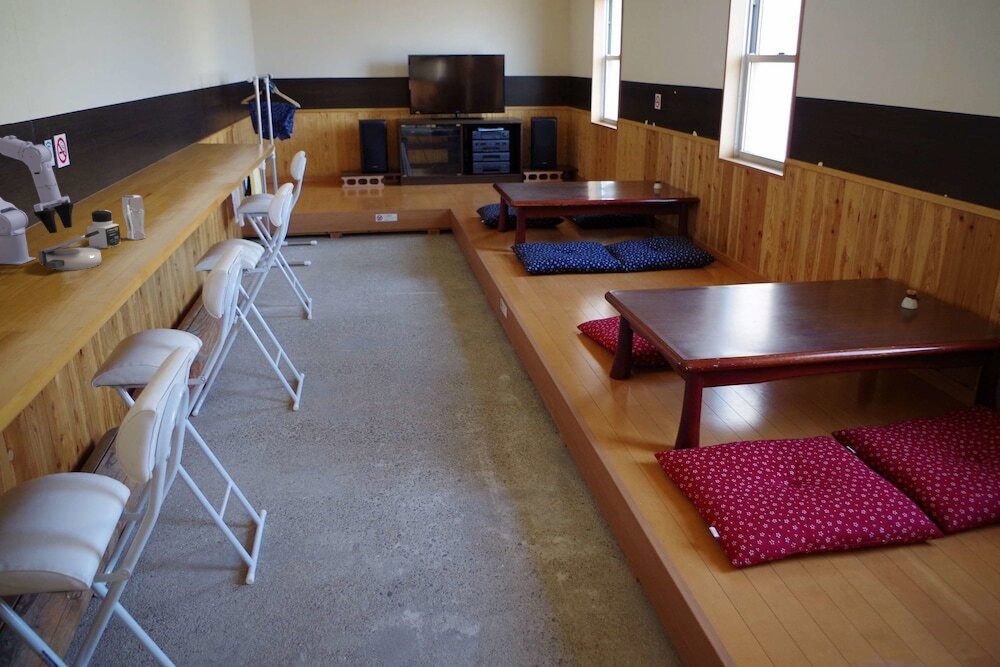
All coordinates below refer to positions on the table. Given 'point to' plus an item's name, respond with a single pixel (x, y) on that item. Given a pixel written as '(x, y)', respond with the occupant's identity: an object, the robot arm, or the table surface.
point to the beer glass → (134, 216)
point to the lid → (70, 242)
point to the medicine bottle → (104, 230)
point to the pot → (71, 258)
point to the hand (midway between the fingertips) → (61, 230)
